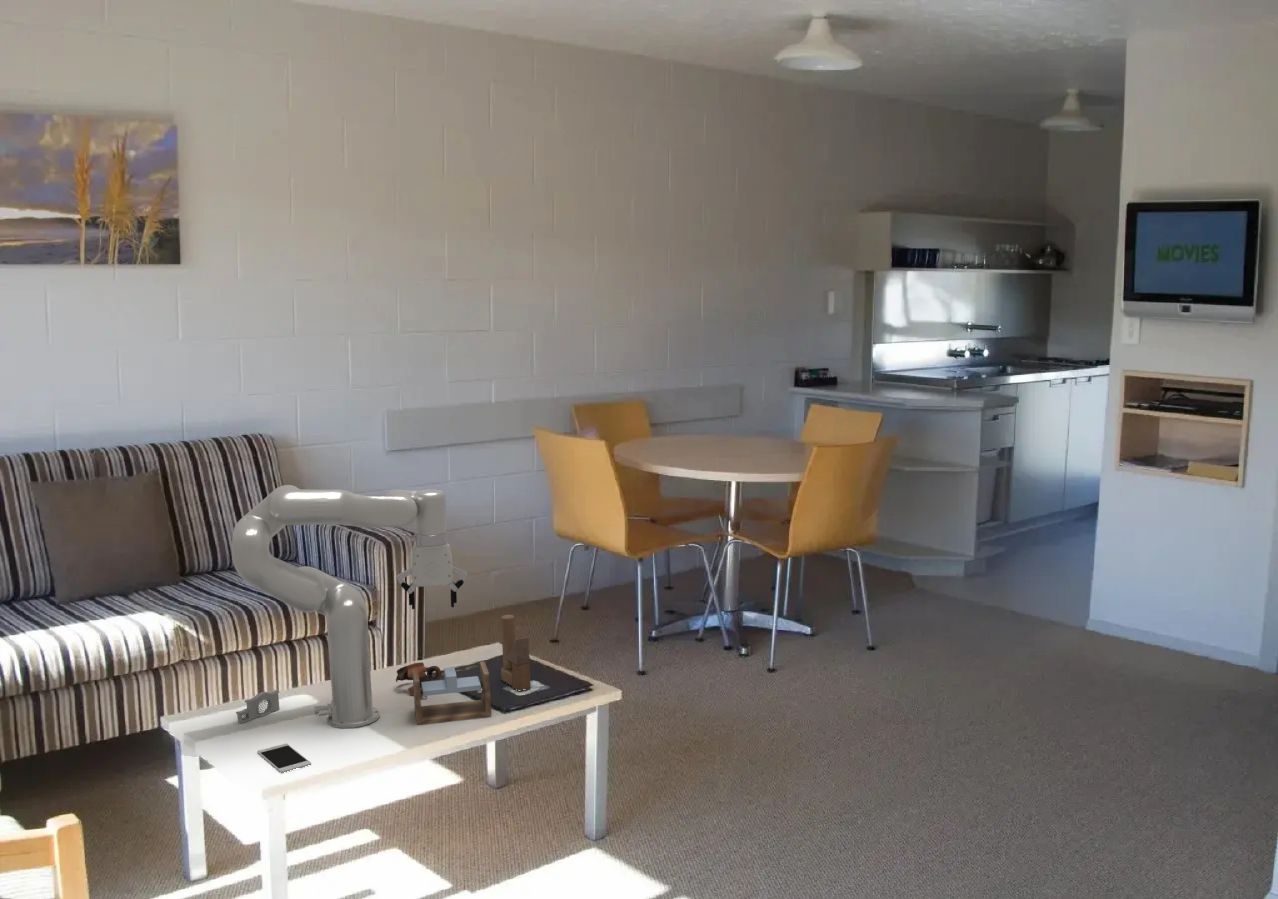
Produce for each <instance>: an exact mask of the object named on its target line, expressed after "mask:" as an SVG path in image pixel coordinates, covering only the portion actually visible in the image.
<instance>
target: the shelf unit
mask: <svg viewBox="0 0 1278 899" xmlns="http://www.w3.org/2000/svg"><path fill="white" fill-rule="evenodd" d="M479 670H480V684H481V690H476V691H477V695H478V694H479V695H480V694H481V699H476V700H475V699H473V700H467V701H459V702H458V701H457V702H449V703H448V702H447V703H440V704H439V703H438V704H429V705H422V702H421V701H423V700H427V699H428V696H423V691H422V688H420V680H419V675H418V670H417V668H414V669H412V671H413V680H412V684H413V685H412V686H413V687H414V695H413V699H414V713H415V720H416V725H417V726H420V725H421V726H423V725H429V724H430V725H431V724H438V723H439V724H440V723H448V722H453V721H454V722H455V721H465V720H475V719H482V718H491V717H492V706H491V705H492V704H491V685H490V681H491V680H490V672H489V669H488V667H487V664H486V661H485V660H484V661H479Z"/></svg>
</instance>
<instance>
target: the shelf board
mask: <svg viewBox="0 0 1278 899" xmlns="http://www.w3.org/2000/svg"><path fill="white" fill-rule="evenodd" d="M443 674H444V675H443V676H444V679H439V680H437V681H428V682H421V685H422V691H423V693H422V695H423V696H427V697H428V696H436V695H438V696H439V695H447V694H454V693H465V692H474V691H477V690H481V684H480V682H481V680H480V679H479V678H480V677H479V676H478V675H477V676H476V675H475V676H466V677H458V678H457V672H456V669H455V666H452V667H450V666H449V667H444V668H443Z"/></svg>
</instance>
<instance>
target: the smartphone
mask: <svg viewBox="0 0 1278 899" xmlns="http://www.w3.org/2000/svg"><path fill="white" fill-rule="evenodd" d="M257 754H258V756H260V757H261V758H262V759H263V758H264V759H263V760H264V761H266V762H267V763H268V764H269V763H270V764H271V767H273V768H274V767H275V768H276V769H277V770H278V771H277V770H276V769H275V768H274V769H275V770H276V771H277V772H278V773H280V772H281V773H280V774H285V773H284V772H286V773H288V772H287V771H289V772H291V771H290V770H293V769H296V768H300V769H303V767H304V768H306V767H305V766H307V767H309V766H308V765H311V766H312V762H311V761H310V760H309V759H308V758H306V757H305V756H304V755H302V754H301V753H300V752H299V751H297V750H296V749H294V748H293V747H292V746H291V745H290V744H288V743H283V744H282V743H281V744H278V745H275V746H274V745H273V746H272V747H271V746H270V747H267V748H263V749H259V750H258V751H257ZM270 764H269V765H270ZM293 771H294V770H293Z"/></svg>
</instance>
